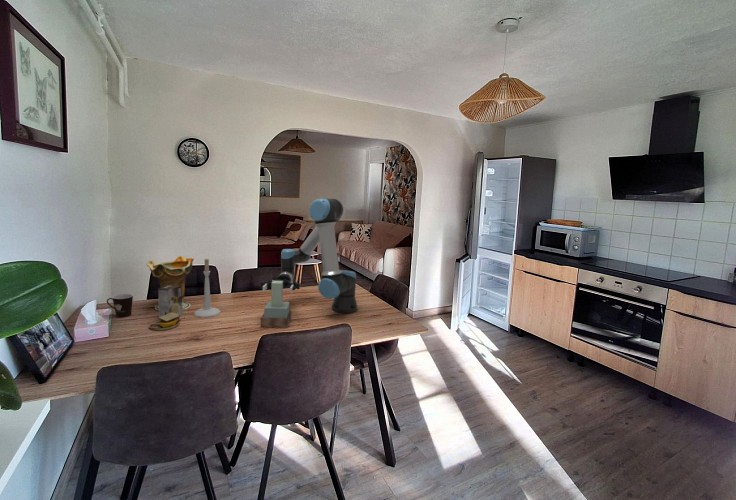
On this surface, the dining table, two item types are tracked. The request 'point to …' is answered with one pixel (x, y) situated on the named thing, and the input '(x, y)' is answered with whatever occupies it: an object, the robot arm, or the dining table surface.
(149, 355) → the dining table surface
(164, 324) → the toy sandwich meal
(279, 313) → the slate top block
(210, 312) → the candlestick
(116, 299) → the coffee mug
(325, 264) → the robot arm
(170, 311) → the coffee box
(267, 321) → the walnut base block
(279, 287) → the sage pillar block
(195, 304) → the dining table surface
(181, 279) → the decorative vase
